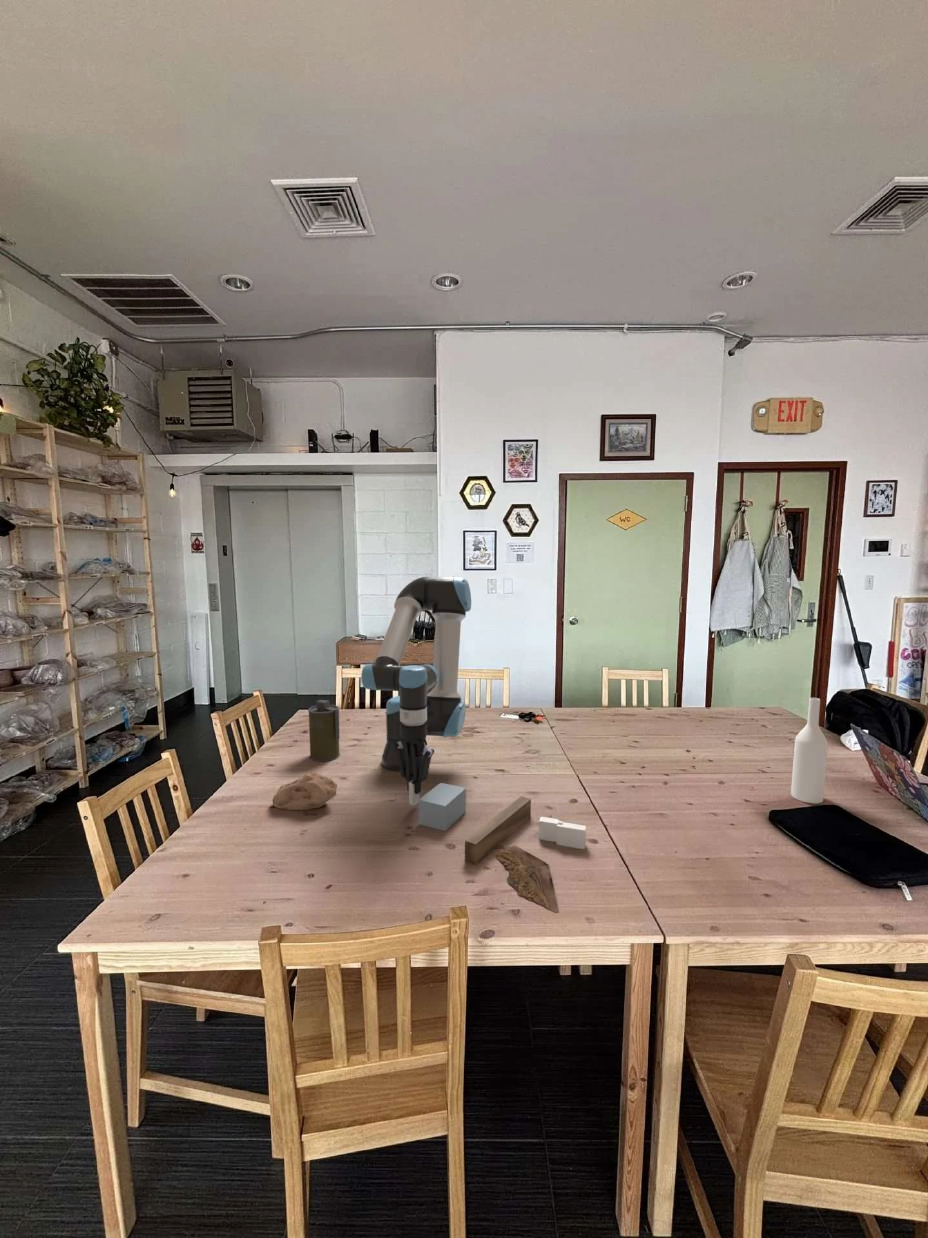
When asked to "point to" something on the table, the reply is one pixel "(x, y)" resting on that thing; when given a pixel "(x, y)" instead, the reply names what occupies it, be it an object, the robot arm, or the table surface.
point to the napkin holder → (562, 832)
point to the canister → (324, 731)
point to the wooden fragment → (529, 876)
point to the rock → (305, 792)
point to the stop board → (497, 830)
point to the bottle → (810, 759)
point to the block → (442, 806)
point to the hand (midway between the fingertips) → (414, 803)
